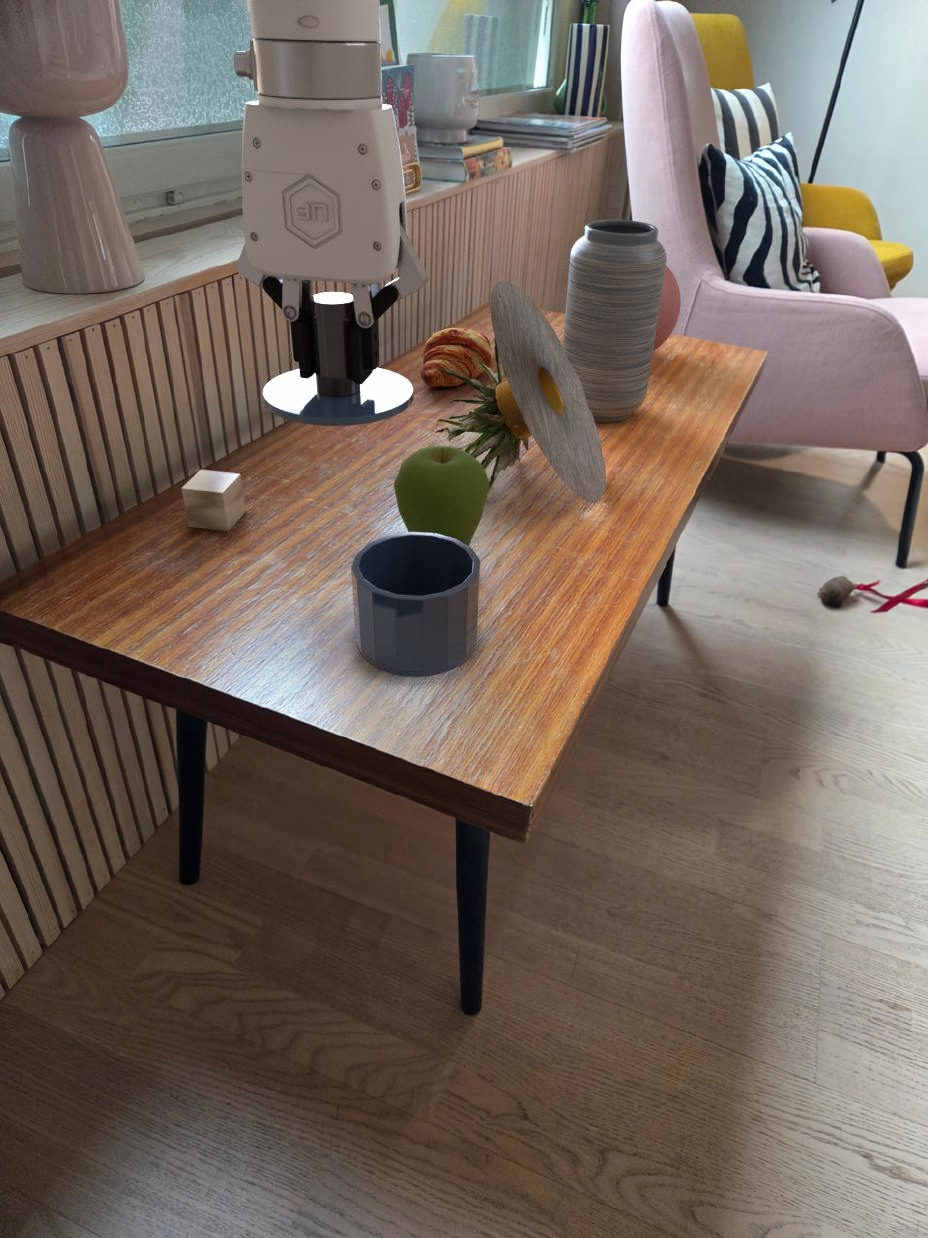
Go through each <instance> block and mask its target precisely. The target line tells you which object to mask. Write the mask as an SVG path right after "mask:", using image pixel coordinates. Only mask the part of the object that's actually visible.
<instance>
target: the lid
mask: <svg viewBox="0 0 928 1238" xmlns="http://www.w3.org/2000/svg"><path fill="white" fill-rule="evenodd" d="M310 309H311V322H312V335H313V348H314V361H315V374H314V375H313V376H312V377H310V378H309V379H305V378H301V377H300V373H299V368H297V369H294V370H290V371H287V372H284V373H282V374H279V375H277V376H275V377H274V378H272V379H270V380H269V381H268V382H267V383H266V384H265V385H264V387H263V388H262V393H261V394H262V401H263V404H264V407H265V408H266V409H267V410H268V411H269V412H270V413H272V414H273V415H275V416H277V417H279V418H281V419H284V420H287V421H290V422H293V423H299V424H302V425H310V426H320V427H348V426H349V427H350V426H360V425H366V424H372V423H376V422H380V421H384V420H387V419H390V418H393V417H395V416H398V415H399V414H401V413H403V412H404V411H406V410H408V408H409V407H410V406H411V405H412V404H413V401H414V398H415V397H414V395H415V393H414V392H415V391H414V386H413V385H412V383H411V381H410V380H409V379H407V378H406V377H404V376H403V375H401V374H399V373H397V372H394V371H391V370H390V369H389V370H388V369H385V368H380V367H377V368H376V369H375V370H373V373H372V374H371V375H370V376H369V377H368V378H367V379H366V381H365V382H364V383H363V384H355V383H354V382H353V381H352V377H351V357H350V338H349V330H350V328H351V327H352V326H353V325H354V324H355V319H354V317H355V316H356V315H355V309H354V303H353V296H352V293H347V292H340V291H329V292H328V291H327V292H320V293H316V294H313V296H311V298H310Z"/></svg>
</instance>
